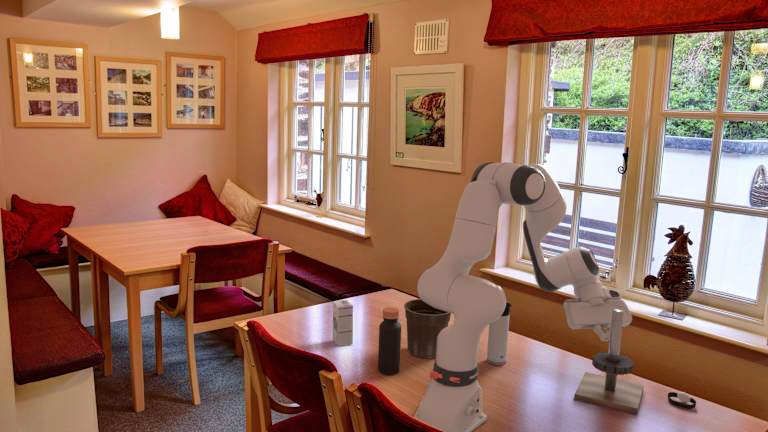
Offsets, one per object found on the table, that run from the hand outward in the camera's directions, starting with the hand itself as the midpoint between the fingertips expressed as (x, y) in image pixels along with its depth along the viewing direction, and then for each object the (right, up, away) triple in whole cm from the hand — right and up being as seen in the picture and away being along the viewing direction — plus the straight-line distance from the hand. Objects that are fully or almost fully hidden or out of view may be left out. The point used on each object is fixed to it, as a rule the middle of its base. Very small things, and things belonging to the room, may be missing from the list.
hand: (607, 340), depth 187 cm
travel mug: (-29, -11, +21) cm, 37 cm away
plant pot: (-51, -9, +27) cm, 59 cm away
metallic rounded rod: (+1, -14, 0) cm, 14 cm away
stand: (+1, -16, 0) cm, 16 cm away
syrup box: (-80, -7, +33) cm, 87 cm away
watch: (+20, -18, -4) cm, 27 cm away
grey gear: (+1, -7, -2) cm, 8 cm away
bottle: (-64, -12, +11) cm, 66 cm away
